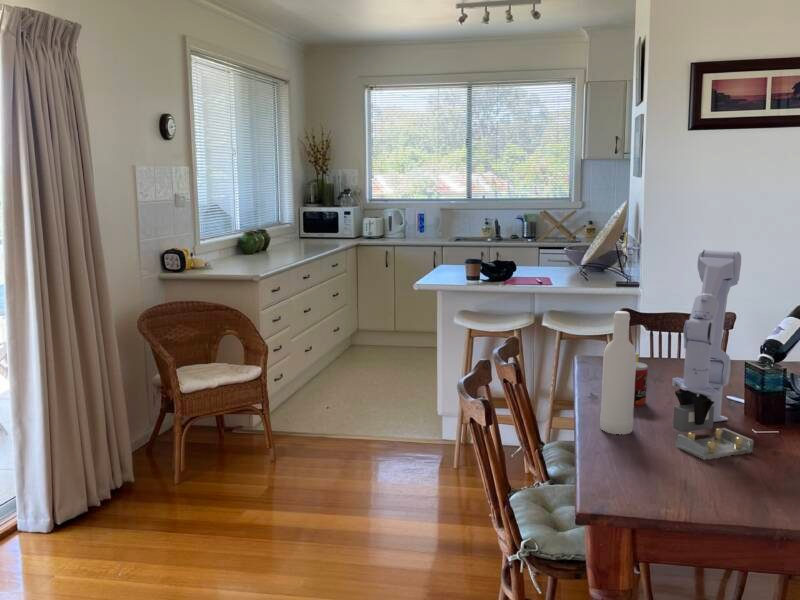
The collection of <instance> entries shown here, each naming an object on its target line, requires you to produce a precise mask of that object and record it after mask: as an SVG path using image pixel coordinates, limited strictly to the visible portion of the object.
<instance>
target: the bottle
mask: <svg viewBox="0 0 800 600" xmlns="http://www.w3.org/2000/svg"><path fill="white" fill-rule="evenodd" d="M630 320H631V315H630V312H628V311H626V310H624V311H623V310H617V311H615V312H614V314H613V330H612V331H613V336H612V340H611V341H609V343H607V344H606V346H605V349H604V351H603V359H602V360H603V361H602V364H603V365H602V378H601V379H602V382H601V403H600V415H599V417H600V418H599V422H600V423H599V429H600V430H601V431H602V430H603V431H602V432H604V431H605V432H604V433H606V432H607V434H610V433H611V434H610V435H616V434H619V435H621V434H622V435H621V436H623V435H624V436H625V435H629V434H631V433H632V432H633V426H634V407H635V406H634V391H635V373H636V353H637V351H636V349H635V345H633V344H632V343H631V342H630V340H629V334H630V332H629V331H630ZM619 435H618V436H619Z"/></svg>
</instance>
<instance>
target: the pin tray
mask: <svg viewBox="0 0 800 600" xmlns="http://www.w3.org/2000/svg"><path fill="white" fill-rule="evenodd" d="M695 438H696V433H695V431H689V432H687V436H685V435H683V434H681V433H679V434H677V435H676V445H675V447H676V448H678V449H680V450H681V451H684V452H686V453H688V454H691V456H694V457H697V458H698V457H699V459H700V458H701V459H700V460H702V459H703V460H702V461H706V460H705V459H708V460H714V459H713V458H715V459H720V457H721V458H725V457H726V456H727V457H732V456H731V455H734V456H739V455H738V454H740V455H744V454H745V453H746V454H752V453H753V449H754V439H752V438H749V437H747V436H745V435H742V434H740V433H737V432H735V431H732V430H730V429H728V428H725V427H721V428H720V427H715V428H714V436H713V437H708V438H700V439H695ZM751 452H752V453H751Z"/></svg>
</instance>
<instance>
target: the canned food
mask: <svg viewBox="0 0 800 600" xmlns="http://www.w3.org/2000/svg"><path fill="white" fill-rule="evenodd" d="M648 372H649V371H648V365H647V364H646V363H643V362H639V361H638V362H636V373H635V391H634V407H641V406H644V405H645V404H646V402H647V385H648Z"/></svg>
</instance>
